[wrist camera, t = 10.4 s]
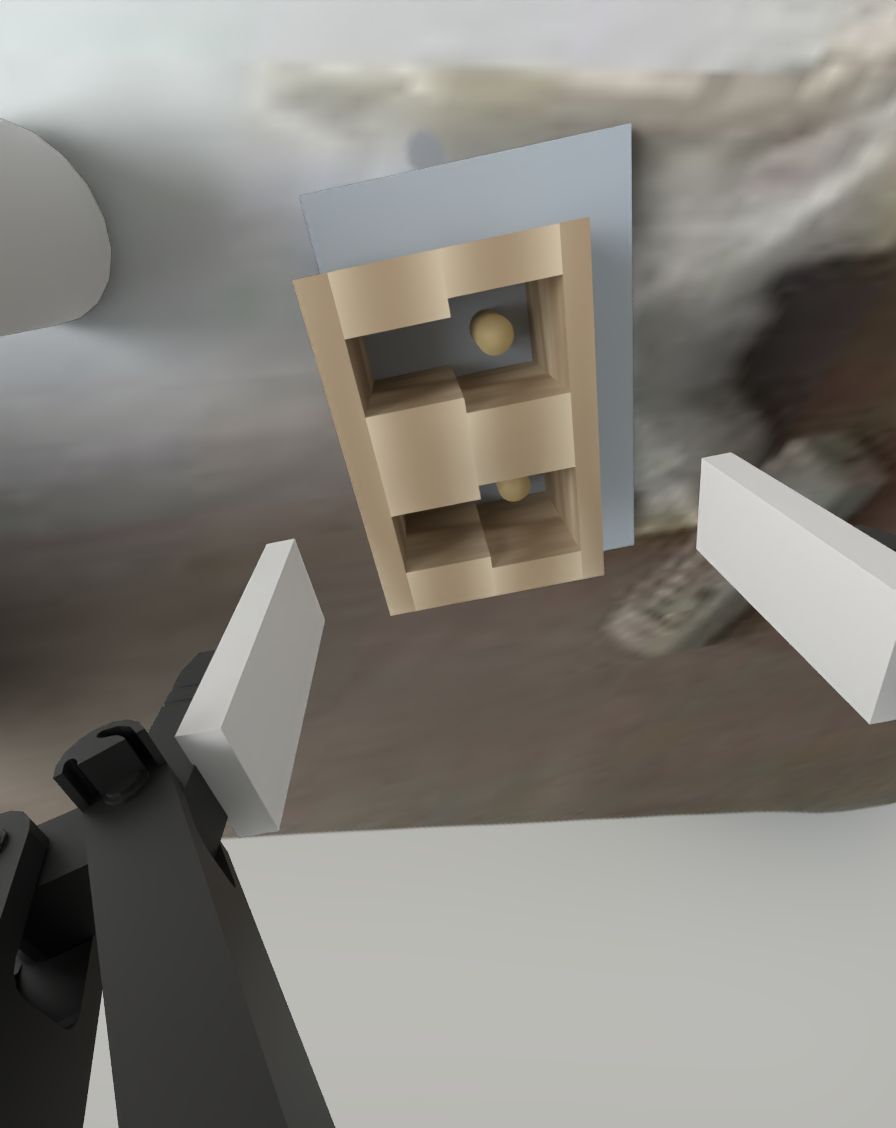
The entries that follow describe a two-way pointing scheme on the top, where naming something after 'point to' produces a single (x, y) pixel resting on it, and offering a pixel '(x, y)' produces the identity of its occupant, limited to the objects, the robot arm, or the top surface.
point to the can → (46, 236)
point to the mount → (500, 316)
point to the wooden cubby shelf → (468, 420)
